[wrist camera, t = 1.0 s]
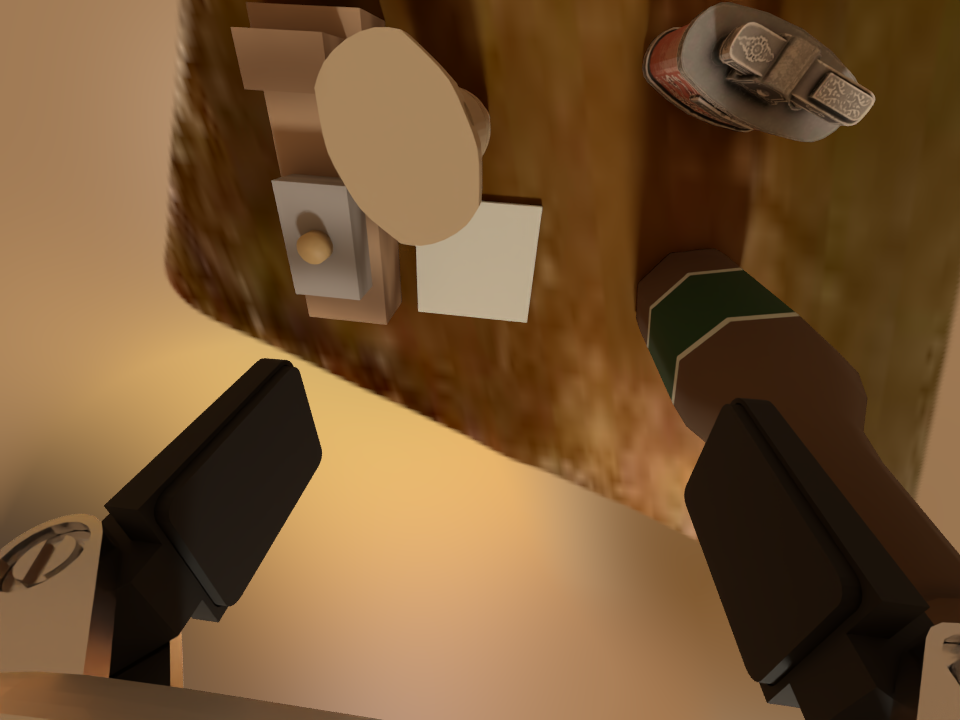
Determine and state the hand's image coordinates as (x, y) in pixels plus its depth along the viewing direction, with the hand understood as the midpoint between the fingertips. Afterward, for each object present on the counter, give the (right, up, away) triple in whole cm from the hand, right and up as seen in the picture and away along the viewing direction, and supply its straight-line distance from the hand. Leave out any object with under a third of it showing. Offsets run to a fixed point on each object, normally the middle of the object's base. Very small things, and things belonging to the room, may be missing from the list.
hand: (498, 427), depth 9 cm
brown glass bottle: (+15, +7, +21) cm, 27 cm away
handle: (-1, +17, +17) cm, 24 cm away
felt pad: (-1, +9, +21) cm, 23 cm away
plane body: (-9, +14, +19) cm, 26 cm away
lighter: (+13, +18, +14) cm, 26 cm away
